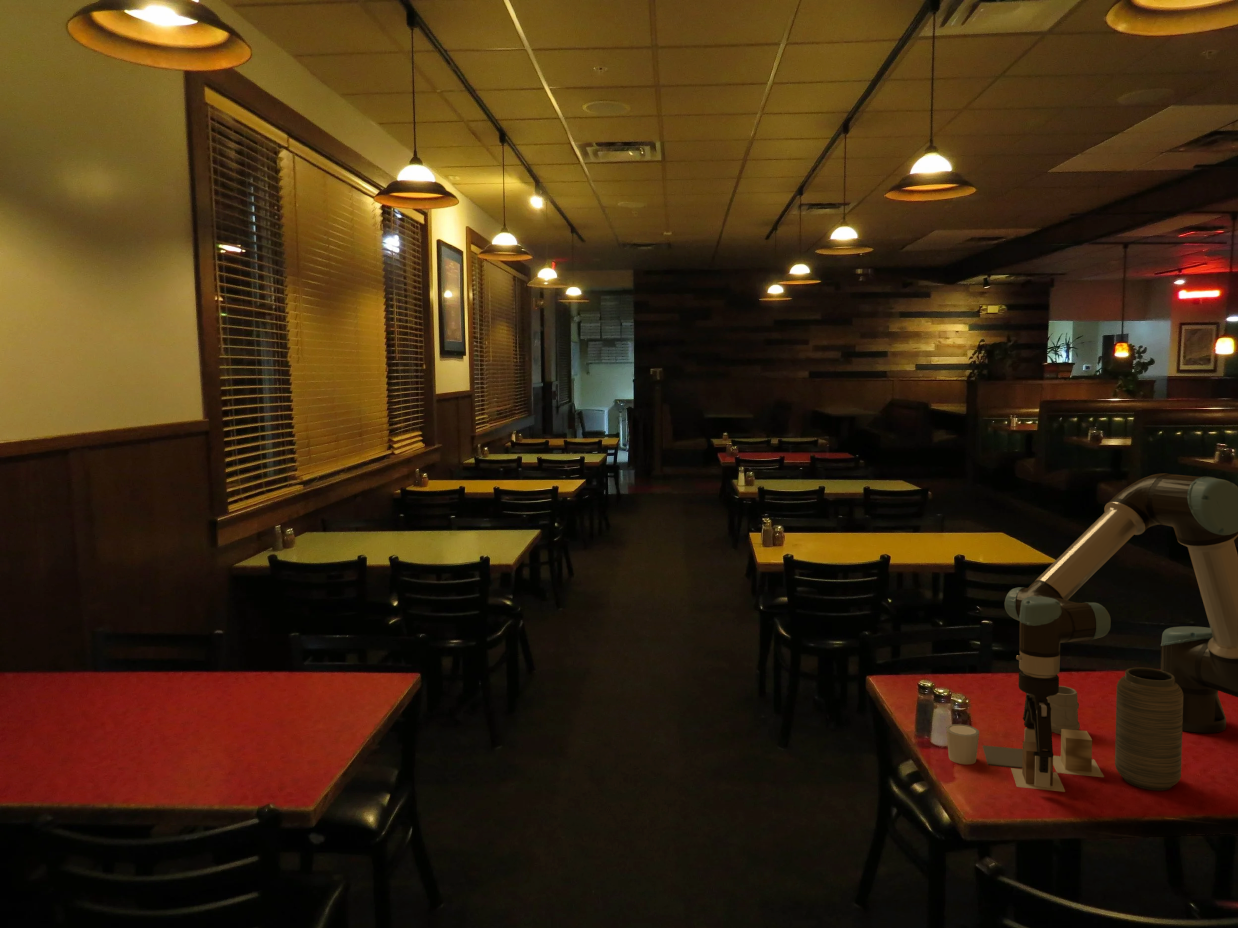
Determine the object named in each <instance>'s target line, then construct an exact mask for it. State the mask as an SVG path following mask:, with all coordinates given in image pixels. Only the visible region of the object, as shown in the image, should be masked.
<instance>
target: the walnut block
mask: <svg viewBox="0 0 1238 928" xmlns="http://www.w3.org/2000/svg"><path fill="white" fill-rule="evenodd" d="M1022 749H1023V755H1022V768H1021V769H1022V774H1023V776H1024V779H1025V782H1026V783H1027V784H1035V756H1033V752H1034V751H1035V752H1036V751H1037V749H1036V742H1027V741H1024V740H1023V741H1022ZM1046 751H1047V750H1046ZM1053 772H1054V765H1053V758H1051V768H1050V786H1053Z"/></svg>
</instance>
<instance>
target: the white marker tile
mask: <svg viewBox="0 0 1238 928" xmlns="http://www.w3.org/2000/svg"><path fill="white" fill-rule="evenodd" d="M1010 770H1011V774H1012V776H1013V779H1014V782H1015V786H1016V788H1022V789H1023V788H1024V789H1025V788H1026V789H1035V790H1036V789H1037V790H1044V791H1055V792H1063V793H1065V792H1066V790H1065V788H1064V785H1063V783H1062V780H1061V777H1059V775H1058V774H1059V773H1057V772H1056V771H1053V786H1050V788H1048V787H1039V786H1035V784H1027V783H1026V782H1025V779H1024V776H1023V774H1022V768H1013V767H1010Z"/></svg>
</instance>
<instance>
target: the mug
mask: <svg viewBox="0 0 1238 928" xmlns="http://www.w3.org/2000/svg"><path fill="white" fill-rule="evenodd" d="M1047 699H1048V703H1050V707H1051V730H1052V733H1055V734H1057V735H1061V729H1069V730H1080V728H1081V724H1080V721H1079V710H1078V709H1080V708H1079V707H1080V704H1079V702H1078V701H1079V700H1078V692H1077V690H1076V689H1074V688H1073V687H1068V686H1065V685H1059V692H1058V693H1057V694H1056V695H1054V696H1048V697H1047Z"/></svg>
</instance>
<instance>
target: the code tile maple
mask: <svg viewBox="0 0 1238 928" xmlns="http://www.w3.org/2000/svg"><path fill="white" fill-rule="evenodd" d="M1053 769H1055V772H1056V773H1057V774H1065V775H1066V774H1067V775H1075V776H1084V777H1085V776H1087V777H1096V778H1097V777H1098V778H1105V775H1104V774H1103V772H1102V771H1101V769H1100V767H1099V766H1098V764H1097V762H1096V760H1095V759H1093V758H1092V772H1086V771H1076V770H1065V768H1064V766H1063V763H1062V761H1061V755H1060V756H1059V755H1053Z"/></svg>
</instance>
